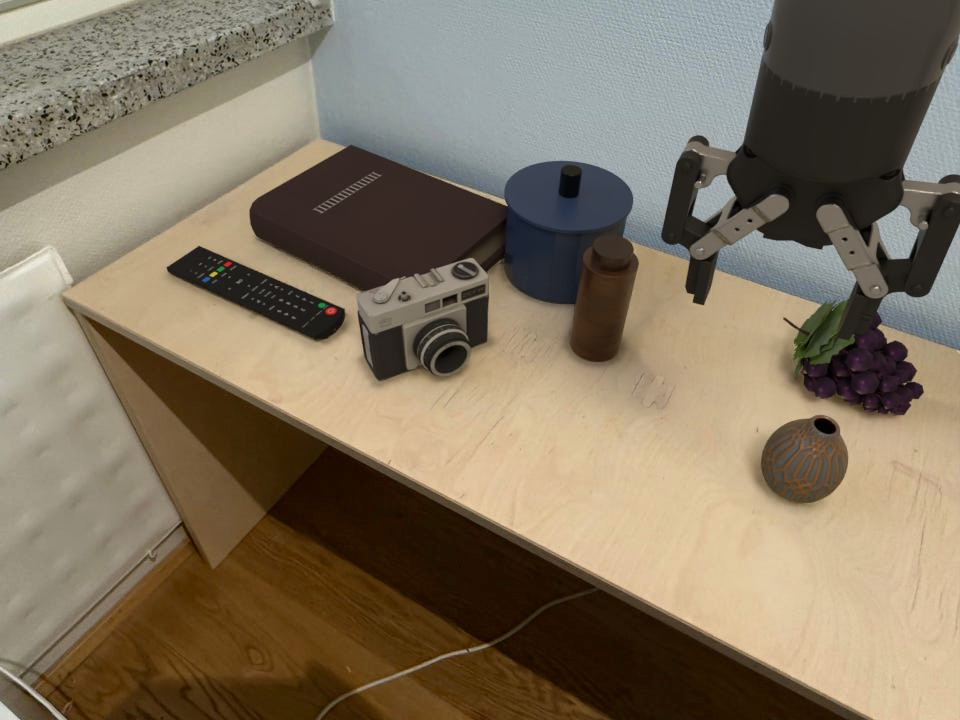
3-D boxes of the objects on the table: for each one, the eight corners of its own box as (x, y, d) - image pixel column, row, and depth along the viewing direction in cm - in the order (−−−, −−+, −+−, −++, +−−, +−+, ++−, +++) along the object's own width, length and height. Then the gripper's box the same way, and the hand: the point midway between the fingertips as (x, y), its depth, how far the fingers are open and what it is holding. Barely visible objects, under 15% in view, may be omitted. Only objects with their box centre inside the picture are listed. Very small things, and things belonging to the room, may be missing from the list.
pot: (628, 255, 88) (644, 184, 80) (590, 317, 79) (604, 245, 72) (531, 225, 92) (537, 156, 85) (485, 281, 84) (487, 209, 76)
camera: (381, 405, 69) (371, 332, 62) (360, 349, 75) (349, 277, 68) (505, 372, 73) (509, 299, 66) (476, 321, 79) (476, 250, 72)
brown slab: (255, 243, 88) (245, 204, 84) (355, 181, 100) (351, 144, 95) (422, 328, 77) (419, 288, 73) (513, 247, 89) (516, 209, 84)
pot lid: (648, 188, 81) (655, 157, 78) (605, 253, 72) (612, 220, 69) (535, 157, 86) (538, 127, 83) (481, 215, 76) (482, 183, 73)
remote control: (201, 254, 86) (198, 245, 85) (349, 319, 78) (348, 310, 77) (169, 276, 83) (166, 267, 82) (320, 346, 75) (318, 337, 74)
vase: (759, 443, 66) (790, 384, 60) (832, 471, 64) (872, 412, 58) (744, 496, 62) (776, 438, 56) (822, 527, 60) (864, 470, 54)
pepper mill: (625, 337, 77) (649, 239, 67) (609, 368, 73) (631, 270, 64) (580, 322, 79) (596, 224, 69) (562, 351, 75) (576, 253, 65)
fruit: (869, 453, 70) (743, 373, 72) (897, 381, 75) (778, 309, 77) (942, 414, 61) (795, 324, 63) (969, 336, 66) (831, 255, 68)
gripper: (1039, 33, 30) (901, 303, 41) (712, 5, 35) (673, 252, 47) (1045, 112, 25) (890, 388, 37) (671, 67, 30) (640, 322, 42)
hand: (769, 312), depth 42 cm, fingers open, 8 cm apart
